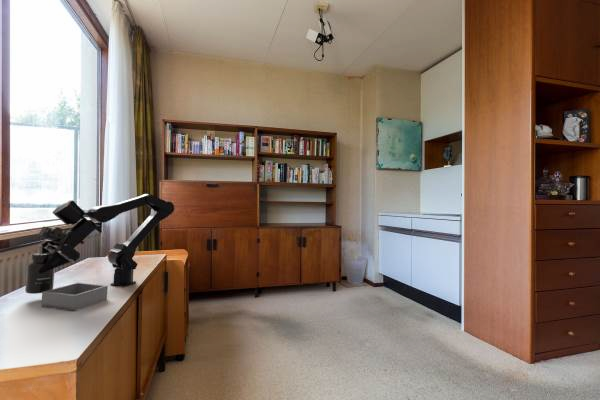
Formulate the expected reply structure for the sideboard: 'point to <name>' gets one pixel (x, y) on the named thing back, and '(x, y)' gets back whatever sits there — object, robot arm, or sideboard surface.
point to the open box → (74, 296)
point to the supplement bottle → (39, 275)
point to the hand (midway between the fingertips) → (35, 271)
